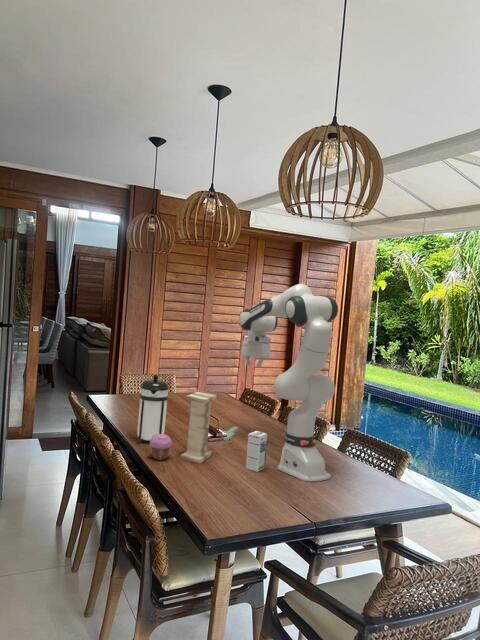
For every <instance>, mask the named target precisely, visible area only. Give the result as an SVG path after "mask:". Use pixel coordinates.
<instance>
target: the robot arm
mask: <svg viewBox="0 0 480 640" xmlns="http://www.w3.org/2000/svg"><path fill="white" fill-rule="evenodd" d="M338 312H339V306H338V302H337V301H336V300H335V298H333V297H331V296H327V295H322V294H319V295H314V294H313V291H312V289H311V288H310V287H309V286H308V285H306V284H305V283H298V284H295V285H293V286H291V287H288V288H287V289H286V290H285V291H283V292H281V293H280V294H278V295H276V296H274V297H270V298H268V299H265V300H263V301H261V302H259V303H258V304H254V305H252V306H251V307H250V308H245V309H243V310H242V311H241V312H240V313H239V316H238V325H239V327H241V328H242V330H243V331H247V337H245V339H244V340H243V341H242V344H241V345H242V346H241V350H240V354H241V356H244V358H245V362H246V363H245V365H246V366H249V367H250V366H252V365H251V363H252V362H251V358H258V359H257V363H256V367H257V368H260V369H261V368H262V364H263V362H264V359H267V360H268V359H269V357H270V354H271V343H272V338H270V337H269V336H268V335H266V333H271V332H274V331H276V329H277V328H278V324H279V320H278V317H279V318H288V320H289V321H290V322H292V323H293V324H295V325H296V327H298V328H301V327H303V330H304V333H303V337H302V340H301V345H300V347H299V348H300V349H299V352H298V354H297V357H296V359H295V361H294V362H293V364H292V365H291V366H290V367H289V368H288V369H287V370H286V371H284V372H282V373H280V374H278V376H277V377H276V378H275V380H274V383H273V390H274V393H275V395H276V396H277V398H280V399H284V400H287V401H295V402H296V401H297V402H298V401H299V402H301V404H300V405H298V407H297V408H294V409H292V410H291V411H290V412H289V414H288V415H287V424H286V425H287V426H286V431H285V434H284V445H283V447H282V452H281V457H280V460H279V465H278V466H277V467H276V469H277V470H279V471H281V472H283V473H285V474H287V475H290V476H292V477H295V478H297V479H299V480H301V481H304V482H320V481H326V480H329V479H330V478H331V474H330V473H329V472H328V471H326V461H325V459H324V456H322V455H321V453H320V452H319V450H318V449H317V447H316V444H317V443H318V439H317V440H316V439H315V435H314V432H315V424H316V419H317V416H318V413H319V412H320V410H321V409H322V407H323V406H324V404H326V403H327V402H329V401H330V400H331V399H332V398H333V397H334V395H335V391H336V390H335V389H336V386H335V385H336V384H335V382H334V381H333V380H332V378H331V377H328V376H324V375H321V374H315V373H318V372H320V371H322V370H323V368H324V367H325V365H326V362H327V358H328V354H329V351H330V347H331V343H332V337H333V336H332V335H333V333H332V331H333V328H332V325H331V324H330V322H332V321H334V320H335V319H336V318H337V316H338Z"/></svg>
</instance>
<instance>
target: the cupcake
mask: <svg viewBox="0 0 480 640" xmlns="http://www.w3.org/2000/svg"><path fill="white" fill-rule="evenodd" d="M172 445H173V440H172V439H171V438H170V436H169V435H168V434H165V433H164V434H156V435H153V436H152V438H151V440H150V441H149V446H150V447H151V452H152V457H153V459H155V460H158V461H162V460H166V459H168V456H169V451H170V449H171V447H172Z"/></svg>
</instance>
